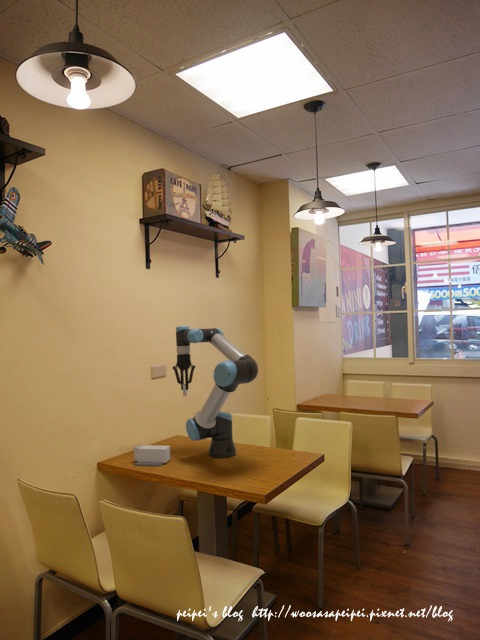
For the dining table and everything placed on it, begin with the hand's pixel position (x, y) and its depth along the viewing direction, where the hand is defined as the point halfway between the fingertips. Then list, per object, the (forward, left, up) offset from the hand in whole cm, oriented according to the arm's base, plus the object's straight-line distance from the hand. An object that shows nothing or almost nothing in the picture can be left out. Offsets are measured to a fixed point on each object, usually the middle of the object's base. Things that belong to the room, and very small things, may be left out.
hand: (185, 395), depth 257 cm
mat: (+14, +18, -32) cm, 39 cm away
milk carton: (+5, +17, -28) cm, 33 cm away
